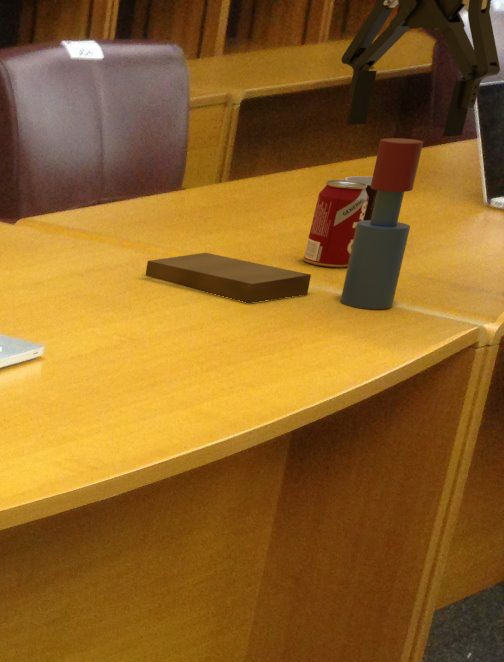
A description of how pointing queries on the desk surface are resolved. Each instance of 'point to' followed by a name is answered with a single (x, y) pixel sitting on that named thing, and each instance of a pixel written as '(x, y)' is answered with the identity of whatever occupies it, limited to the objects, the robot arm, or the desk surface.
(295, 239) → the desk surface
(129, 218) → the desk surface
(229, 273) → the slab
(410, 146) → the cap
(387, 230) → the bottle
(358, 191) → the soda can
